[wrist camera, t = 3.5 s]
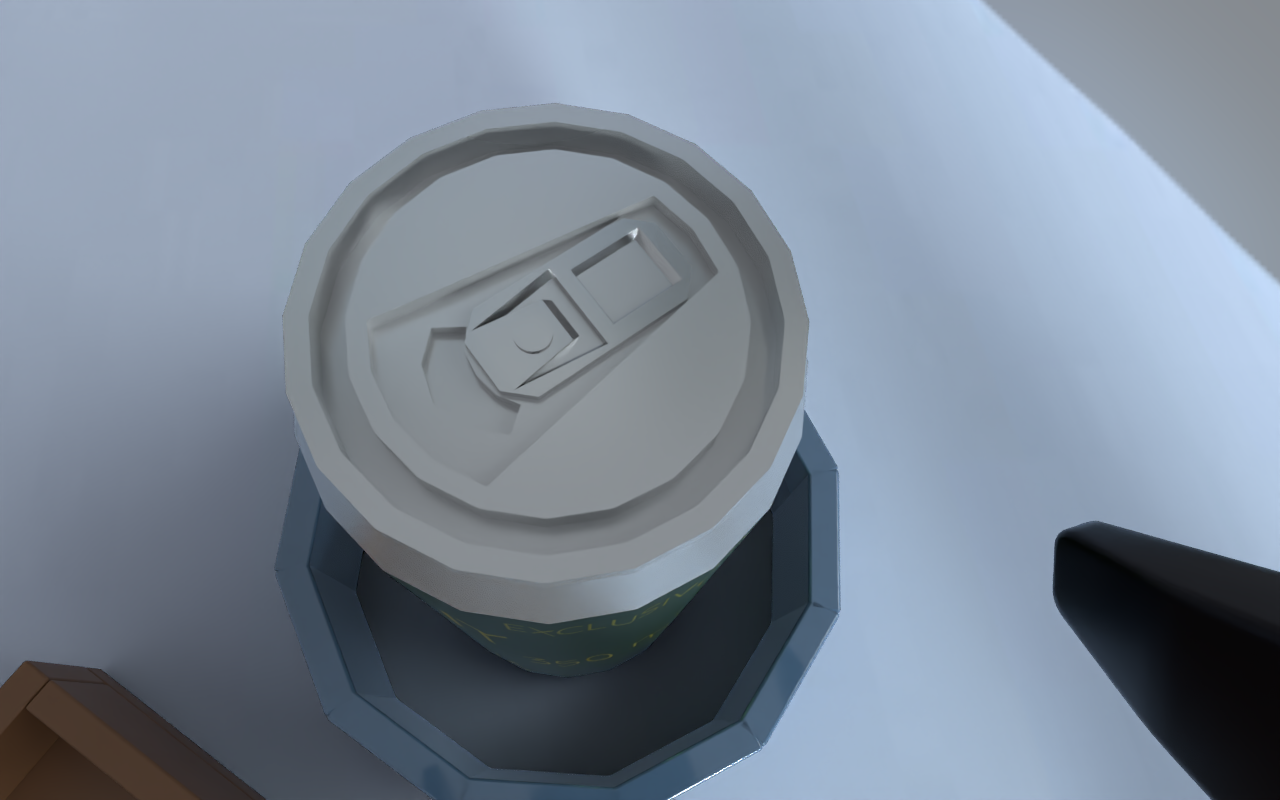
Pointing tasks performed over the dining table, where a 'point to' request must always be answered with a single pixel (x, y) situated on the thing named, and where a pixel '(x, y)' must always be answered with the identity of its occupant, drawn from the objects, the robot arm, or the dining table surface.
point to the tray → (97, 743)
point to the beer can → (548, 375)
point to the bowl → (482, 796)
